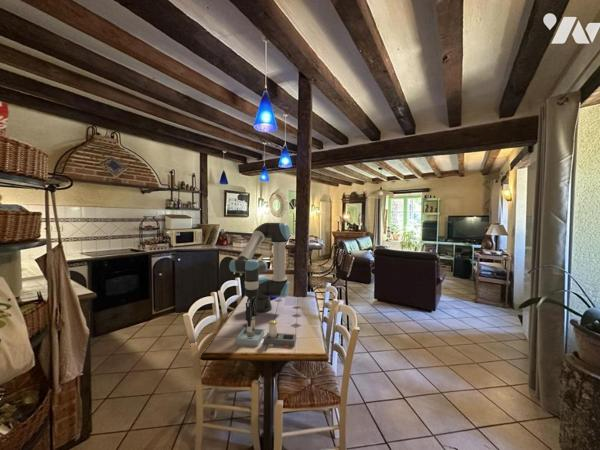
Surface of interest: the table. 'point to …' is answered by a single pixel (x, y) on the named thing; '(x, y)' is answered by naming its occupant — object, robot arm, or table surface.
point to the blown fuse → (251, 334)
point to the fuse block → (281, 340)
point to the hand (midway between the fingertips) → (250, 329)
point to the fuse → (273, 329)
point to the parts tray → (252, 341)
